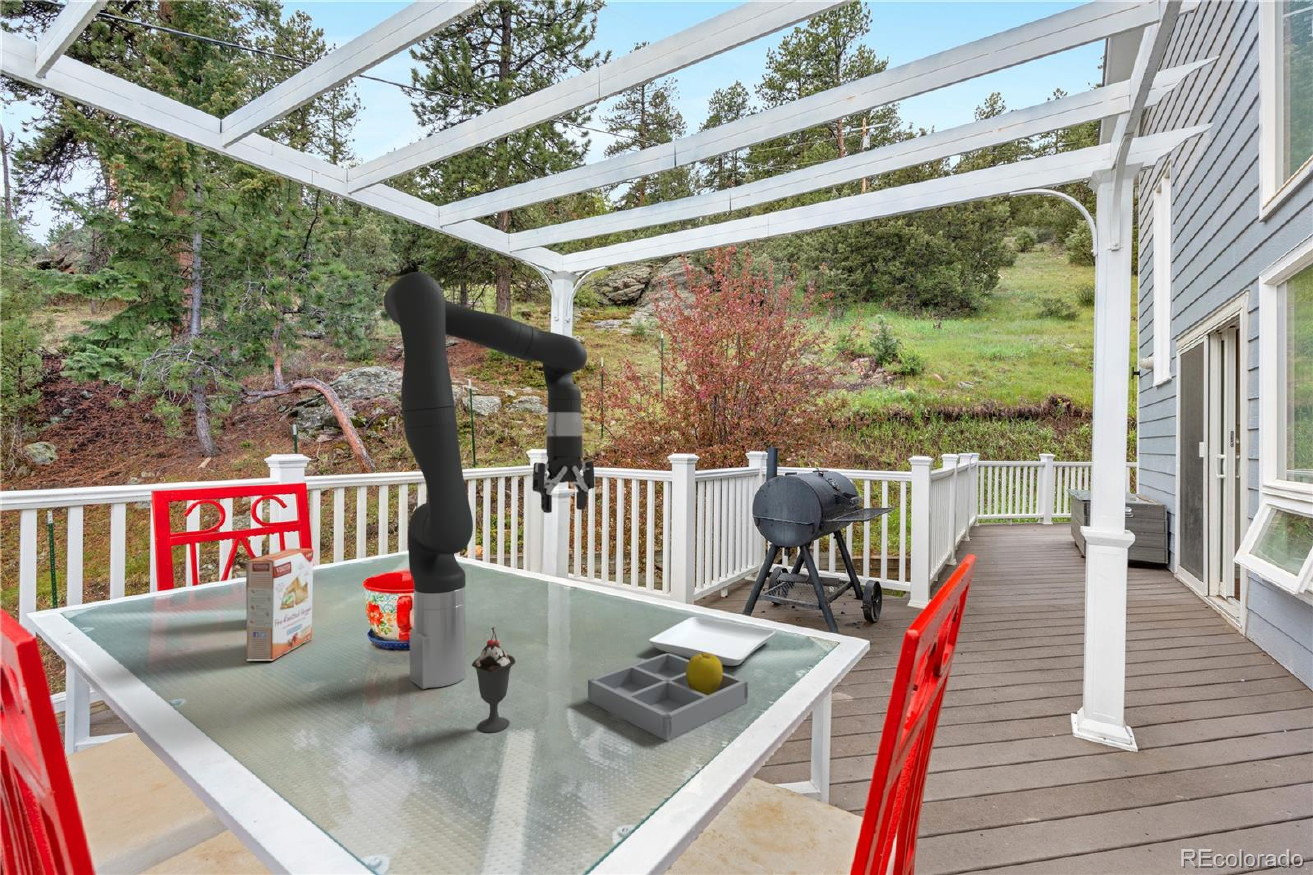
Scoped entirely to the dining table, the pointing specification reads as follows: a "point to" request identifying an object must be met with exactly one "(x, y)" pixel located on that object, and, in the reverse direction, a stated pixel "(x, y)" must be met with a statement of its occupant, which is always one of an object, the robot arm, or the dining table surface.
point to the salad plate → (712, 639)
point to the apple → (704, 673)
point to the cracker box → (279, 602)
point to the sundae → (493, 682)
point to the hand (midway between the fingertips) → (564, 510)
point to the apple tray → (663, 696)
